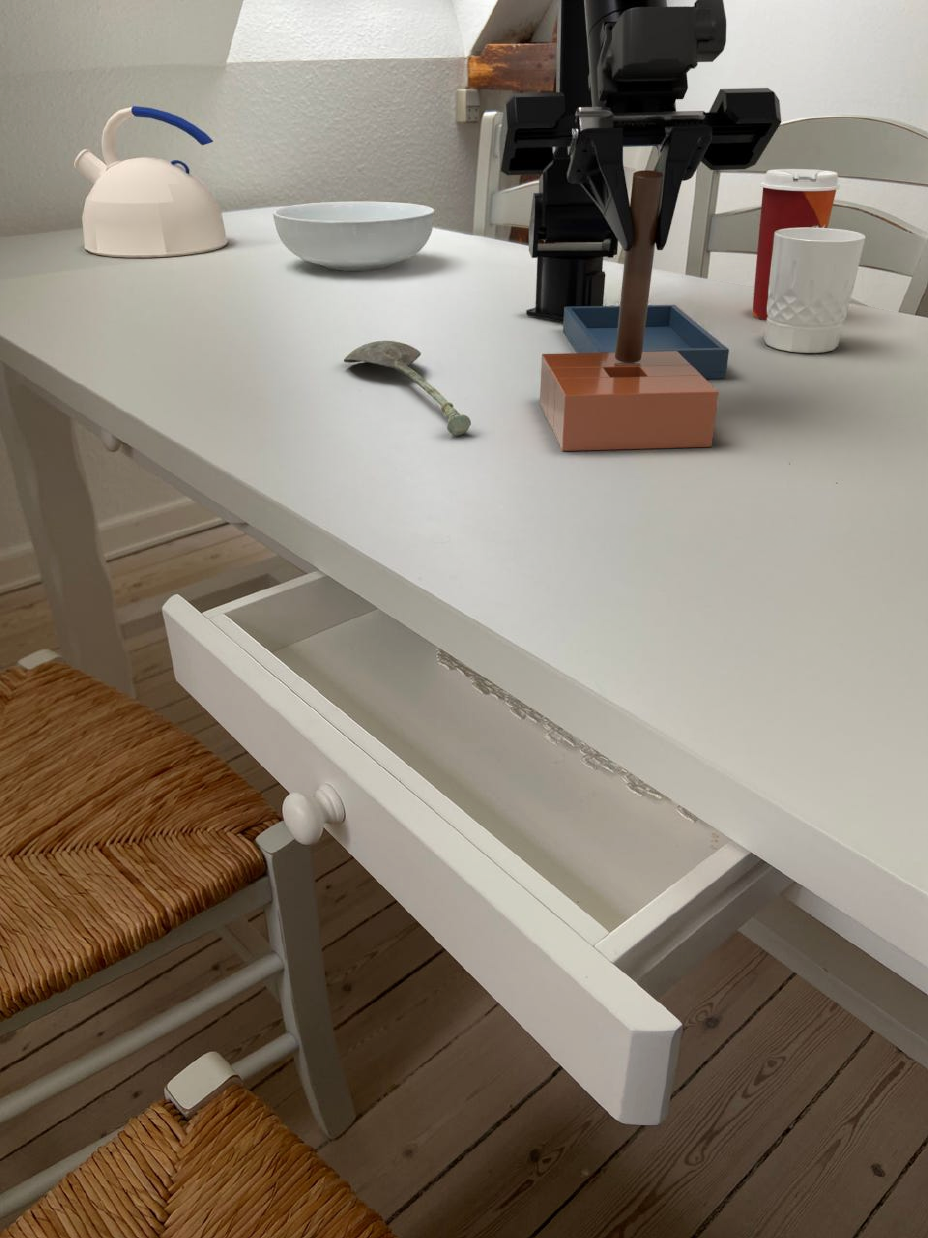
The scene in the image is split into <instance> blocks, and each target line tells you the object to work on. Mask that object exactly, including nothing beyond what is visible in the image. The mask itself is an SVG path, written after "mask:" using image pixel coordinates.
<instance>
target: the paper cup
mask: <svg viewBox="0 0 928 1238" xmlns="http://www.w3.org/2000/svg"><path fill="white" fill-rule="evenodd" d="M838 181H839V174H838V172H836V171H833V170H825V169H813V168H811V169H810V168H808V169H807V168H777V169H769V170H767V171H766V172H765V176H764V180H763V181H761V183H760V184H759V186H760V187H762V195H761V206H760V217H759V229H758V237H757V249H756V250H757V251H756V261H755V262H756V263H755V274H754V285H753V297H752V298H753V299H752V302H753V303H752V316H753V317H755V318H757V319H760V320H765V321H767V317H768V315H767V301H768V289H769V279H770V270H771V261H772V252H773V242H774V233H775V231H777V230H780V229H786V228H803V227H811V228H829V224H830V220H831V216H832V210H833V206H834V202H835V198H836V194H837V190H840V189H841V185H840V184H839V183H838Z"/></svg>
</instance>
